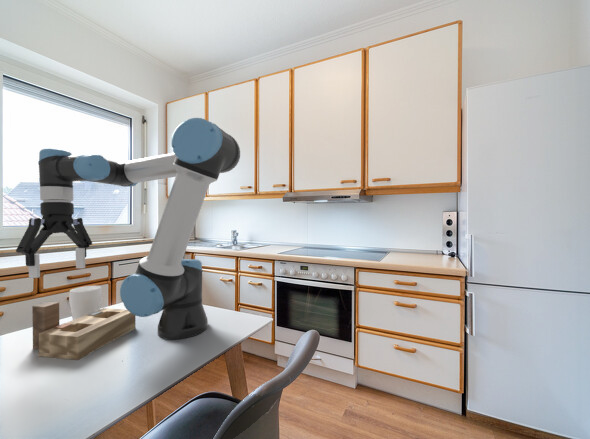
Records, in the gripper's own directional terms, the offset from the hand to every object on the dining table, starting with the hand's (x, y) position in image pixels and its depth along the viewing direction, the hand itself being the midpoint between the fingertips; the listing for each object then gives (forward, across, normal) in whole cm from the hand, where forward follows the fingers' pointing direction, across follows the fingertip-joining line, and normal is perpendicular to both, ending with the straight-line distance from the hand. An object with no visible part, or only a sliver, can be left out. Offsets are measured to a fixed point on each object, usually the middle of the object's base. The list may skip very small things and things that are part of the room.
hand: (59, 272), depth 82 cm
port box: (+20, 0, +10) cm, 23 cm away
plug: (+20, +4, 0) cm, 21 cm away
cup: (+20, -12, -4) cm, 24 cm away
